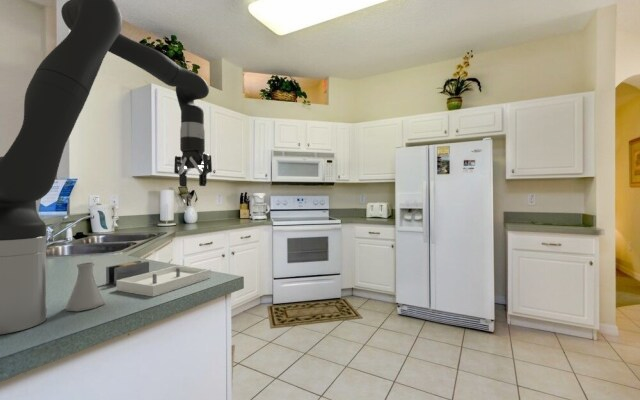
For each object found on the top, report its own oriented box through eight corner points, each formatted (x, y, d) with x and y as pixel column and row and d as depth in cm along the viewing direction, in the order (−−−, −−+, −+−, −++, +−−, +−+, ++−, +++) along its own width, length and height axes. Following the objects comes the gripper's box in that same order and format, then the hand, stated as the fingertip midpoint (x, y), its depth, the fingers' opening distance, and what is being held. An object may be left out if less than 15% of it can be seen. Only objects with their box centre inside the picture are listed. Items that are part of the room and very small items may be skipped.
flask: (58, 309, 68) (58, 265, 68) (94, 299, 74) (94, 259, 74) (74, 314, 64) (74, 268, 64) (111, 304, 71) (111, 262, 71)
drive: (117, 285, 86) (117, 268, 86) (106, 283, 88) (106, 266, 88) (149, 277, 96) (149, 261, 96) (138, 276, 97) (138, 260, 98)
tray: (153, 296, 76) (153, 282, 76) (116, 290, 82) (116, 276, 82) (210, 277, 95) (210, 266, 95) (177, 273, 100) (177, 262, 100)
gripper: (167, 137, 100) (167, 186, 100) (200, 133, 94) (200, 185, 94) (185, 141, 107) (186, 187, 106) (217, 138, 101) (217, 186, 101)
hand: (192, 186), depth 100 cm, fingers open, 8 cm apart
